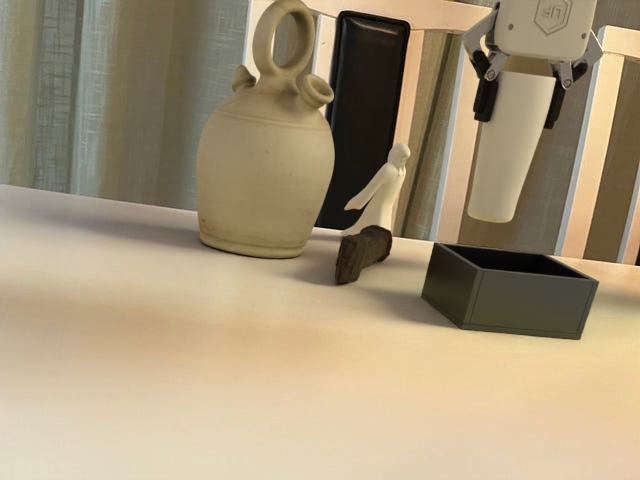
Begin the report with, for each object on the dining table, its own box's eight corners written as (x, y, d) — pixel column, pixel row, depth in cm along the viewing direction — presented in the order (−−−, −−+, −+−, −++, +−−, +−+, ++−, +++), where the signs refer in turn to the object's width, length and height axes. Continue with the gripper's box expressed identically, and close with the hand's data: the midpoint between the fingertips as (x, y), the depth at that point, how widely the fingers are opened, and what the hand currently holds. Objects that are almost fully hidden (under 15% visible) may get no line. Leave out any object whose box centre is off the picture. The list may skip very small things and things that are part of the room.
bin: (528, 307, 107) (544, 253, 104) (580, 339, 97) (600, 281, 94) (420, 296, 106) (433, 241, 103) (461, 329, 95) (478, 269, 92)
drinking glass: (495, 214, 122) (532, 74, 114) (529, 226, 117) (570, 79, 109) (448, 212, 120) (482, 68, 112) (480, 223, 115) (518, 73, 107)
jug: (339, 265, 115) (391, 9, 102) (216, 259, 110) (254, -12, 96) (281, 236, 127) (321, 3, 114) (167, 229, 121) (195, -16, 108)
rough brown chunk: (356, 256, 121) (364, 215, 118) (388, 262, 120) (397, 221, 117) (311, 282, 106) (319, 236, 103) (348, 290, 105) (357, 243, 102)
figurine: (369, 250, 125) (392, 144, 119) (321, 236, 130) (341, 133, 124) (405, 247, 130) (429, 145, 124) (358, 234, 135) (378, 135, 128)
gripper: (496, -82, 99) (451, 120, 109) (657, -59, 102) (599, 136, 111) (469, -77, 106) (428, 113, 115) (621, -56, 108) (569, 128, 117)
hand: (513, 123), depth 113 cm, fingers closed on drinking glass, 6 cm apart
